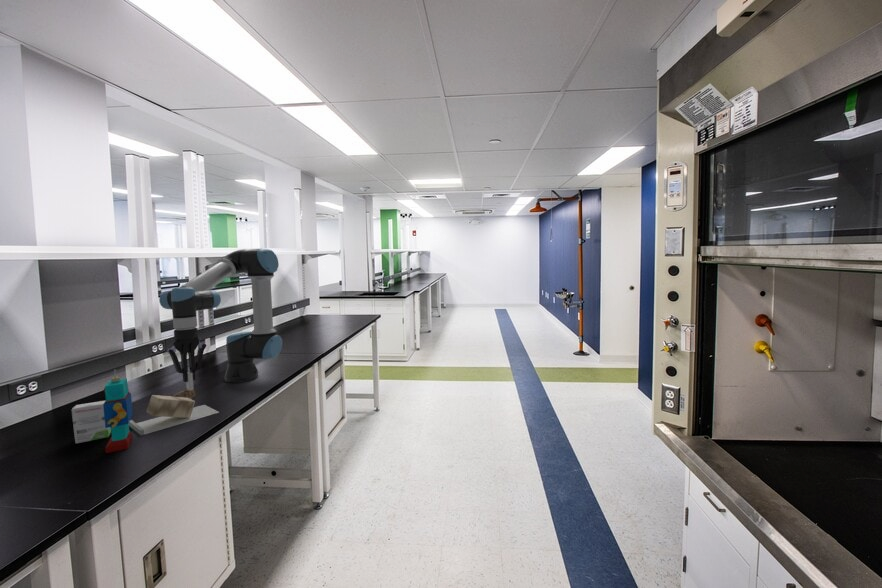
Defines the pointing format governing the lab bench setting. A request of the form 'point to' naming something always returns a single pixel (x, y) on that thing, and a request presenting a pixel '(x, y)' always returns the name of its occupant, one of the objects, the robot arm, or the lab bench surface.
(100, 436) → the ink box
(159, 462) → the lab bench surface
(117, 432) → the toy robot
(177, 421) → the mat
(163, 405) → the block
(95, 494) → the lab bench surface
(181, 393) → the rock
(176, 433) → the lab bench surface
